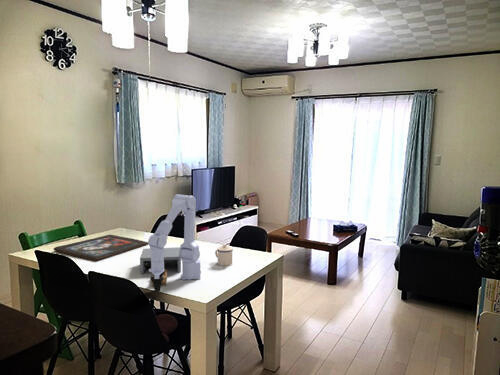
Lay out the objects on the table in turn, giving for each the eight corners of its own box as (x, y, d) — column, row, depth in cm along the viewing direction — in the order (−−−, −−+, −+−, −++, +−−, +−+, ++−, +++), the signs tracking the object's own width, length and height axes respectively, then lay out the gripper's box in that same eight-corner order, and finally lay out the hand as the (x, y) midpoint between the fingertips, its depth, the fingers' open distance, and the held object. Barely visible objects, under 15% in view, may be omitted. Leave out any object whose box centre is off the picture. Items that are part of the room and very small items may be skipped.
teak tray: (167, 274, 195) (167, 264, 194) (166, 285, 179) (166, 274, 179) (153, 274, 193) (153, 264, 193) (151, 286, 178) (151, 275, 177)
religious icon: (51, 252, 231) (51, 247, 230) (108, 237, 270) (108, 233, 270) (95, 263, 212) (94, 258, 212) (149, 245, 252) (149, 241, 251)
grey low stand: (180, 261, 216) (180, 247, 215) (180, 272, 198) (180, 256, 197) (143, 263, 212) (143, 248, 211) (140, 274, 194) (140, 258, 193)
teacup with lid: (235, 263, 214) (236, 244, 213) (225, 267, 207) (225, 247, 206) (220, 259, 222) (220, 240, 220) (210, 262, 214) (210, 243, 213)
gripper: (149, 255, 175) (150, 283, 177) (147, 265, 161) (147, 295, 163) (164, 255, 177) (165, 282, 178) (163, 264, 162) (164, 294, 164)
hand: (158, 288), depth 171 cm, fingers open, 7 cm apart
